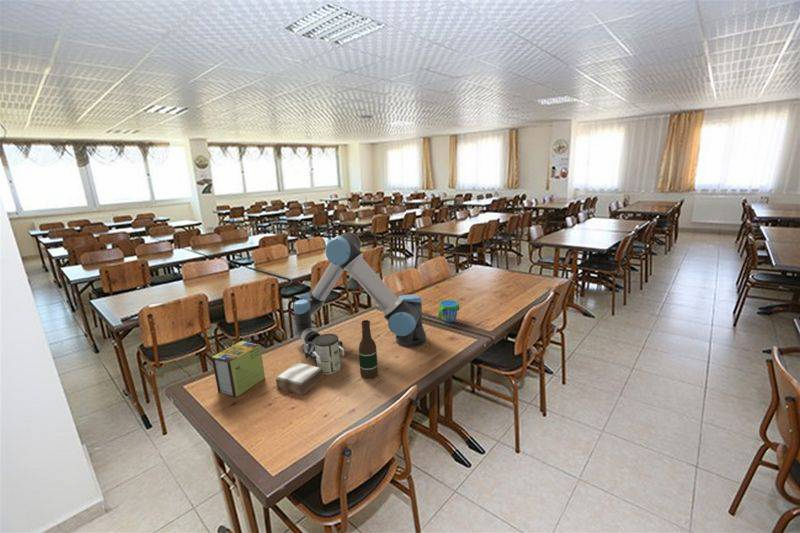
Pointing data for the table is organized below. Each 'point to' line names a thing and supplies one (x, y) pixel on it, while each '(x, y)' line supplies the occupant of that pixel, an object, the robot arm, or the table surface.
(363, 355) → the beer bottle
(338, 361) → the coffee can
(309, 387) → the stand
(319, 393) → the table surface
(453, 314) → the snack cup
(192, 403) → the table surface
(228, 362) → the protein box
